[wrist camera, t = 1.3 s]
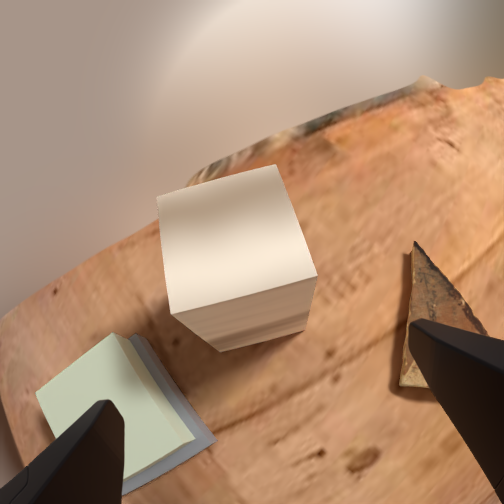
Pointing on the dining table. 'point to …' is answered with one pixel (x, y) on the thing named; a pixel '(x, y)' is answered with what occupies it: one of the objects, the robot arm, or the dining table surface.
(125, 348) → the tower top slab
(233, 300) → the maple column
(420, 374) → the shard
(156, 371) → the tower bottom slab
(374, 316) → the dining table surface
